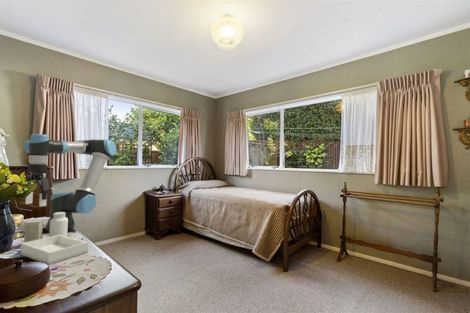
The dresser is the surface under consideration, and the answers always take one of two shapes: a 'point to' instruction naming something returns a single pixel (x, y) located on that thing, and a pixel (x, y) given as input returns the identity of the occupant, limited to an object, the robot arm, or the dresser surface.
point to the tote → (54, 249)
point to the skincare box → (33, 230)
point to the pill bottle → (58, 224)
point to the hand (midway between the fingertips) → (35, 204)
